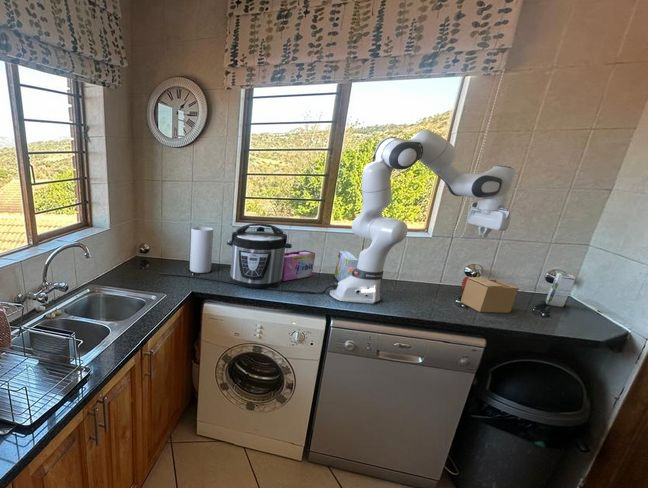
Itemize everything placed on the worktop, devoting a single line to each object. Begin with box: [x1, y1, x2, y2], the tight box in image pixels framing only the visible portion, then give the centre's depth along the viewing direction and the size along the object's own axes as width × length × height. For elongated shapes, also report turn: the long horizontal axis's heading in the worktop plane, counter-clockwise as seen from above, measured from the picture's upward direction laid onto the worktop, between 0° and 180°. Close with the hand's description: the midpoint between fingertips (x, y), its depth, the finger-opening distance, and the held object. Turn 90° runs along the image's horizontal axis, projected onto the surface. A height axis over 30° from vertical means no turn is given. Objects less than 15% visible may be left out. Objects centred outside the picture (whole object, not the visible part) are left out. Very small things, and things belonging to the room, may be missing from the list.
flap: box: [467, 276, 504, 287], centre depth 180 cm, size 6×13×1 cm, turn 177°
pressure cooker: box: [226, 222, 293, 289], centre depth 212 cm, size 30×28×32 cm
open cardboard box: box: [460, 278, 520, 314], centre depth 183 cm, size 13×13×12 cm
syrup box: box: [544, 272, 576, 308], centre depth 186 cm, size 6×6×14 cm
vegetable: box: [461, 272, 481, 292], centre depth 201 cm, size 11×10×10 cm
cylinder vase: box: [189, 226, 214, 274], centre depth 235 cm, size 12×12×25 cm
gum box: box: [281, 249, 316, 282], centre depth 226 cm, size 24×8×14 cm, turn 118°
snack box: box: [333, 250, 359, 282], centre depth 217 cm, size 21×6×15 cm, turn 168°
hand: (482, 237), depth 179 cm, fingers closed
